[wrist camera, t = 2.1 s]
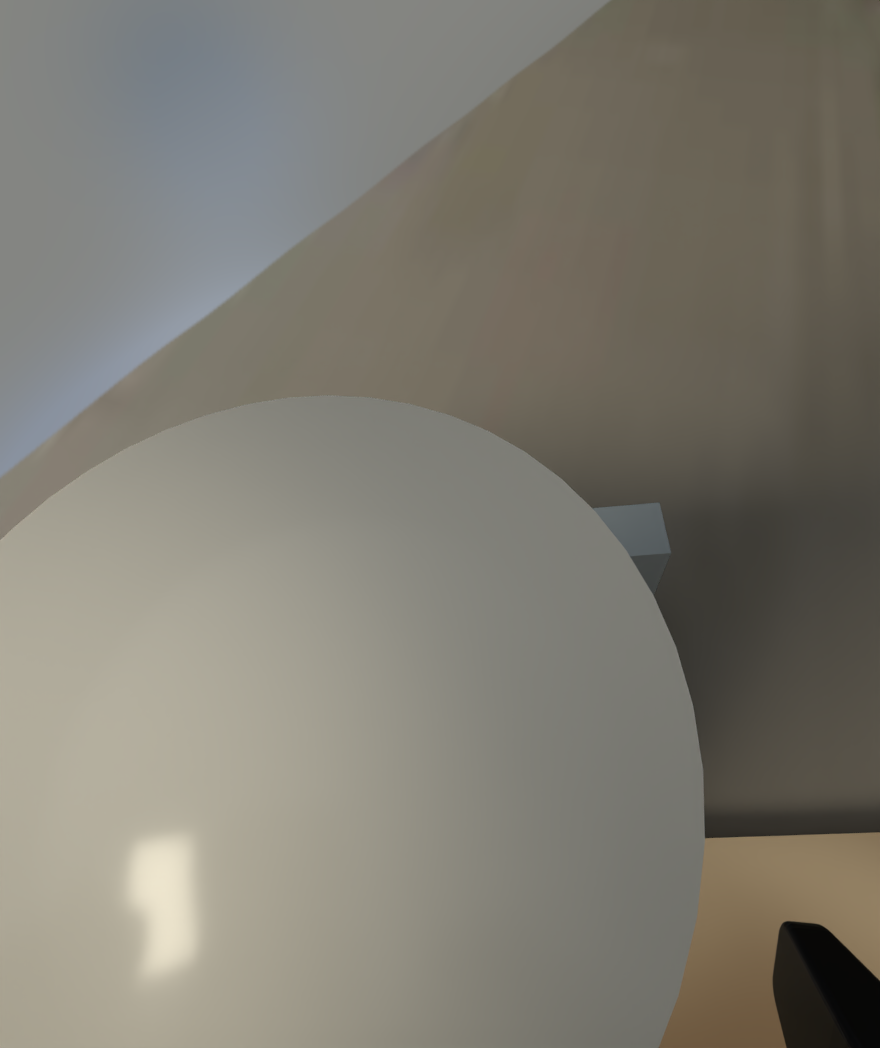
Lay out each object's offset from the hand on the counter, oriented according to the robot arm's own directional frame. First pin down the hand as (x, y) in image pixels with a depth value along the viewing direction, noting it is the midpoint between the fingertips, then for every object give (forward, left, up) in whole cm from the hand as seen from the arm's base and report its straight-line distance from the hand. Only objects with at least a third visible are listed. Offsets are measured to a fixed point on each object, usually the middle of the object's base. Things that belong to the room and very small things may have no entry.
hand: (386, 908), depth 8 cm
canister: (+1, 0, -9) cm, 9 cm away
